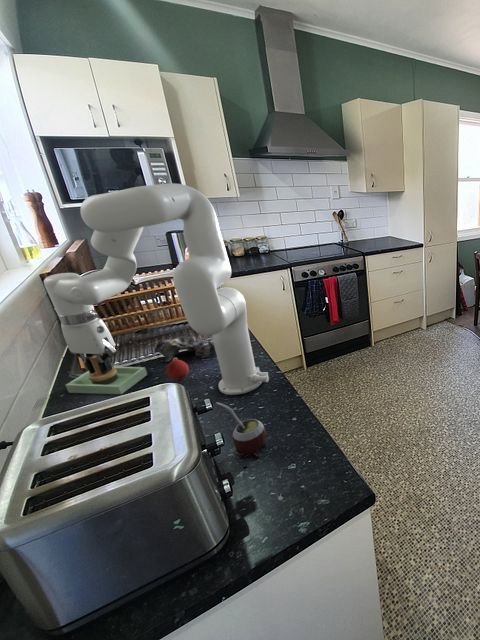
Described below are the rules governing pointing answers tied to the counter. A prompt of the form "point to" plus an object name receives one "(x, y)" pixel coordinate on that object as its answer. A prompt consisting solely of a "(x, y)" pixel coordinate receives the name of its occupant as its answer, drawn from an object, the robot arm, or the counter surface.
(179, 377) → the onion
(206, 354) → the foil
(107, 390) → the tray
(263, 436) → the mate gourd
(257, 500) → the counter surface
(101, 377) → the brush
